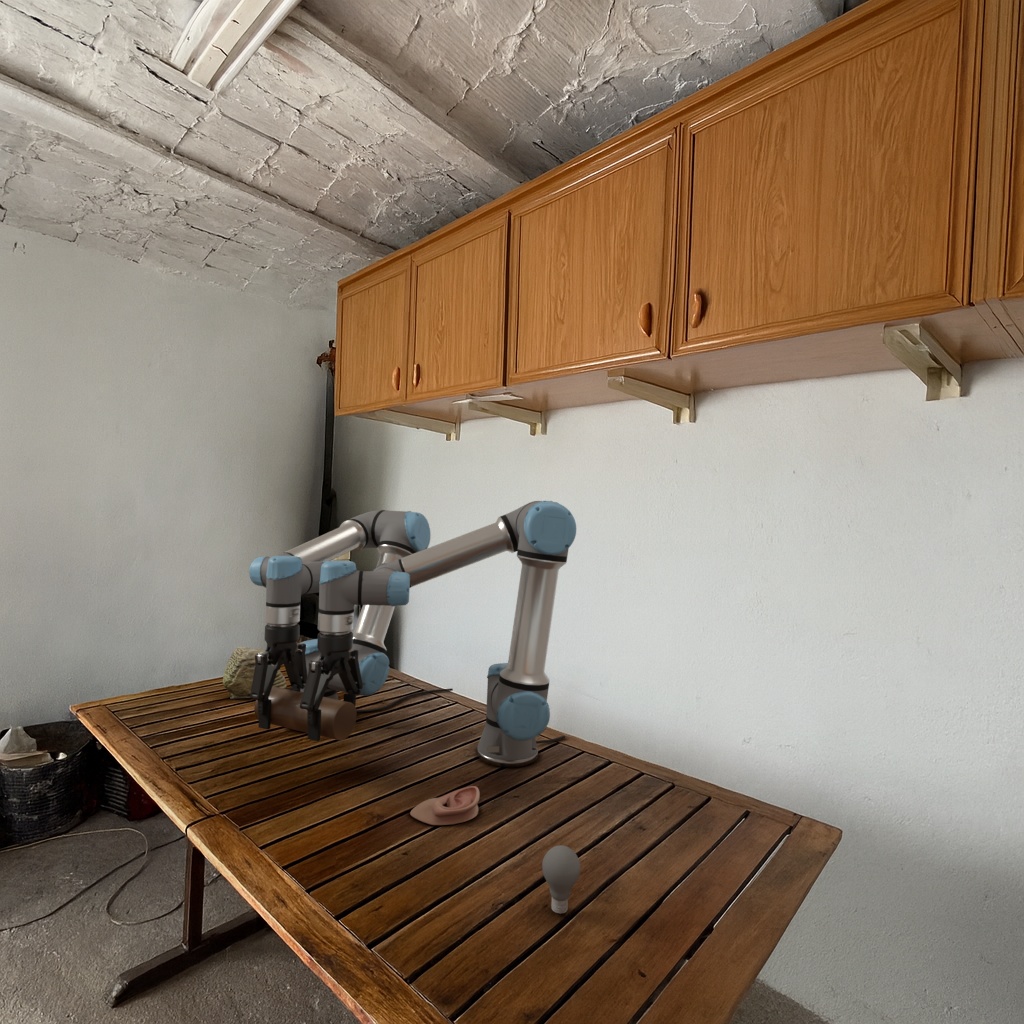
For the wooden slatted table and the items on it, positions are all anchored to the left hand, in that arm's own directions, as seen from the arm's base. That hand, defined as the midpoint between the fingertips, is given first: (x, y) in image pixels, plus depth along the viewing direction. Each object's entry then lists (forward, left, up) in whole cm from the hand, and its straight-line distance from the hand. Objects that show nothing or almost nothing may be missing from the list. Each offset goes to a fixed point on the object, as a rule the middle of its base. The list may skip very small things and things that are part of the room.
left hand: (278, 721), depth 146 cm
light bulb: (-2, +77, -11) cm, 78 cm away
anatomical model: (-12, +42, -11) cm, 45 cm away
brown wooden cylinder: (-2, +7, 0) cm, 8 cm away
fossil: (-24, -53, -11) cm, 60 cm away
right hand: (-4, +15, +1) cm, 15 cm away
